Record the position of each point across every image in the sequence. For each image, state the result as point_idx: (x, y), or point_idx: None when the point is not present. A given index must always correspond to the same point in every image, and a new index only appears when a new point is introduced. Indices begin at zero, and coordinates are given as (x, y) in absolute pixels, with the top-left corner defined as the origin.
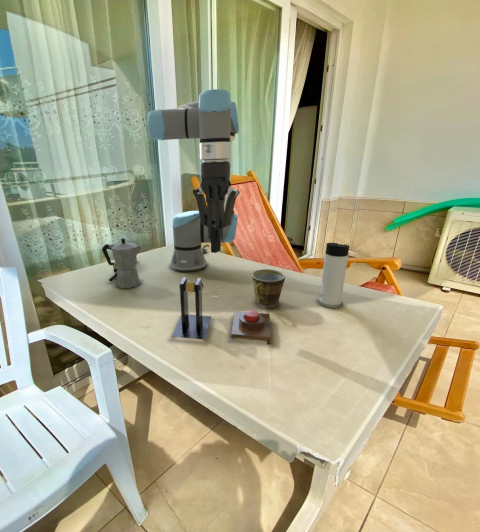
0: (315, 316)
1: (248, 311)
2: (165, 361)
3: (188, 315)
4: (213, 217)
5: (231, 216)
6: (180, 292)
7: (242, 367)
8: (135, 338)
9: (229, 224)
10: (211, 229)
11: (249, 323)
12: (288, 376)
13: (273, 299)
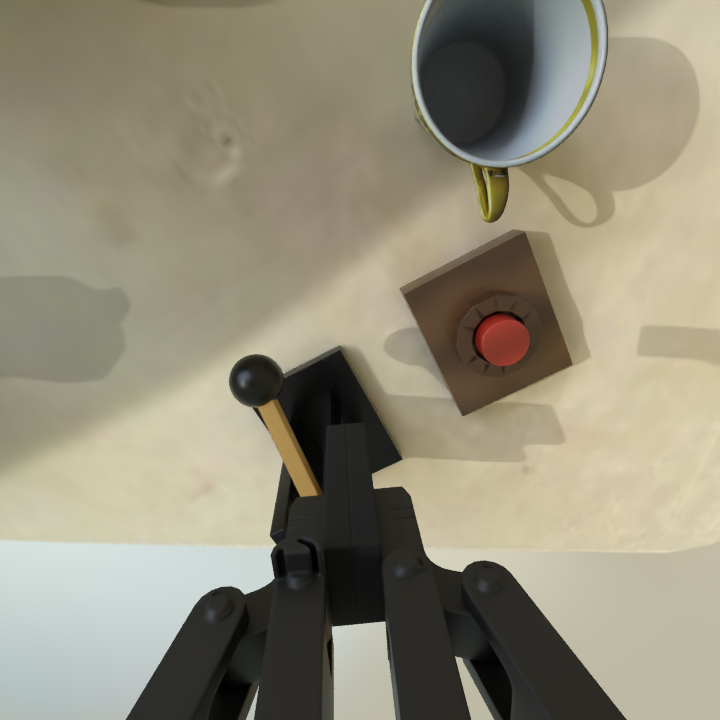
0: (666, 85)
1: (490, 339)
2: None
3: (299, 431)
4: (327, 699)
5: (578, 666)
6: None
7: (527, 469)
8: (229, 537)
9: (511, 583)
10: (341, 622)
11: (507, 373)
12: (629, 436)
13: (515, 124)
